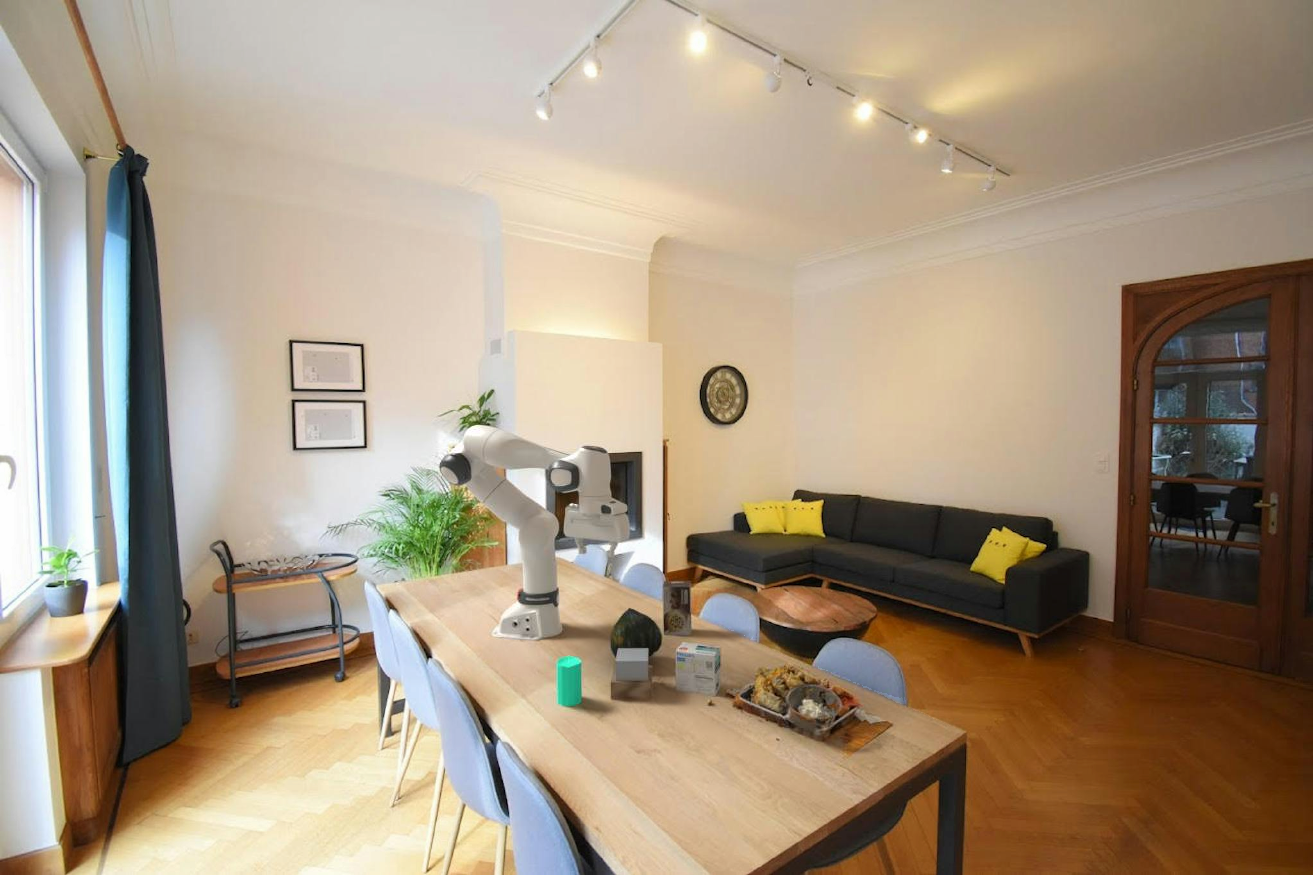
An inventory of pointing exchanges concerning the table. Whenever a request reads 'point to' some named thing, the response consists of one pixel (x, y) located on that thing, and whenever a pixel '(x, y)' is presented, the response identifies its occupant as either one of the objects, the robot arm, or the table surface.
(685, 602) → the coffee box
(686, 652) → the light bulb box
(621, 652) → the tower top block
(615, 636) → the squash
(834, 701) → the food tray
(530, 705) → the table surface
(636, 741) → the table surface
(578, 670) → the candle
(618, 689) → the tower base block
